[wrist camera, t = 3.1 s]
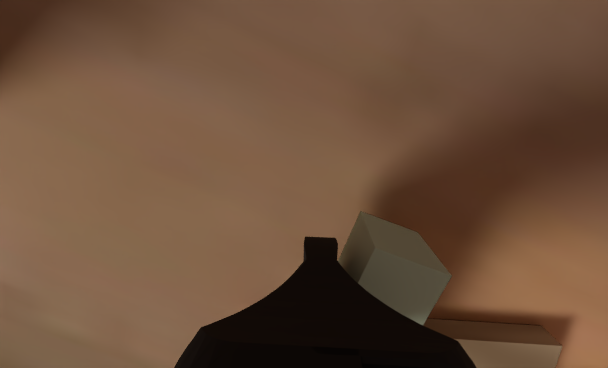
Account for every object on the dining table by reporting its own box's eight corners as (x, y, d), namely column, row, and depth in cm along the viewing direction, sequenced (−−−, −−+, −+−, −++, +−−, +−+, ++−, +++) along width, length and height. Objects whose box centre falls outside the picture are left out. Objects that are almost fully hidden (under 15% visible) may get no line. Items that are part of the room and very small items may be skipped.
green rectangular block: (417, 232, 11) (458, 283, 8) (325, 408, 14) (326, 503, 10) (360, 211, 11) (377, 254, 8) (278, 393, 14) (265, 483, 10)
